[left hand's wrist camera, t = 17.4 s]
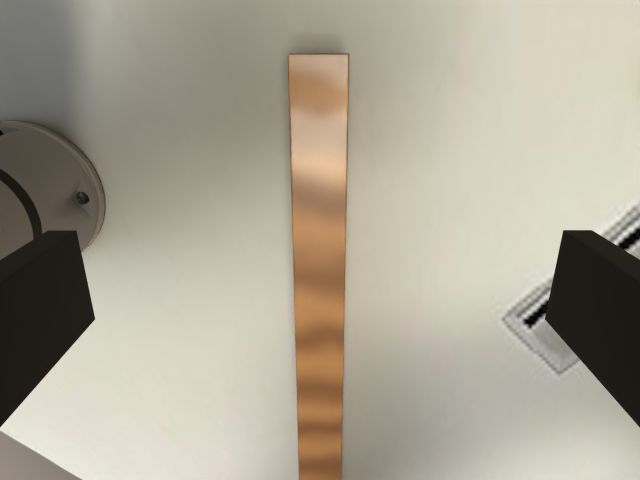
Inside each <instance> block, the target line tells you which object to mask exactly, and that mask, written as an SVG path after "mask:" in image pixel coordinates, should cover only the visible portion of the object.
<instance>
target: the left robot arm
mask: <svg viewBox="0 0 640 480" xmlns="http://www.w3.org/2000/svg"><path fill="white" fill-rule="evenodd" d="M104 213H105V200H104V194H103V189H102V186H101V183H100V180H99V178H98V176H97V174H96V172H95V170H94V168H93V166H92V165H91V163H90V162H89V161H88V159H87V158H86V157H85V156H84V154H83V153H82V152H81V151H80V150H79V149H78V148H77V147H76V146H75V145H74V144H72V143H71V142H70V141H69V140H67V139H66V138H64V137H63V136H62V135H60V134H58V133H56V132H55V131H53V130H50V129H48V128H46V127H43V126H41V125H37V124H34V123H29V122H22V121H6V122H0V427H1V426H2V425H3V423H4V422H5V421H6V420H7V419H8V418H9V417H10V415H11V414H12V413H13V412H14V411H15V410H16V409H17V408H18V406H19V405H20V404H21V403H22V402H23V401H24V400H25V398H26V397H27V396H28V395H29V394H30V393H31V392H32V390H33V389H34V388H35V387H36V386H37V385H38V384H39V382H40V381H41V380H42V379H43V378H44V377H45V376H46V374H47V373H48V372H49V371H50V370H51V369H52V368H53V366H54V365H55V364H56V363H57V362H58V361H59V360H60V359H61V357H62V356H63V355H64V354H65V353H66V352H67V351H68V349H69V348H70V347H71V346H72V345H73V344H74V343H75V341H76V340H77V339H78V338H79V337H80V336H81V335H82V333H83V332H84V331H85V330H86V329H87V328H88V327H89V325H90V324H91V323H92V322H93V321H94V320H95V316H94V312H93V307H92V302H91V297H90V292H89V288H88V283H87V278H86V273H85V268H84V264H83V259H82V254H81V252H82V251H83V250H84V249H86V248H87V247H88V246H89V245H90V244H91V243H92V242H93V241H94V239H95V238H96V236H97V235H98V233H99V231H100V229H101V226H102V223H103V219H104ZM545 320H546V321H547V322H548V323H549V324H550V325H551V327H552V328H553V329H554V330H555V331H556V332H557V333H558V335H559V336H560V337H561V338H562V339H563V340H564V341H565V343H566V344H567V345H568V346H569V347H570V348H571V349H572V351H573V352H574V353H575V354H576V355H577V356H578V357H579V359H580V360H581V361H582V362H583V363H584V364H585V365H586V366H587V368H588V369H589V370H590V371H591V372H592V373H593V374H594V376H595V377H596V378H597V379H598V380H599V381H600V382H601V384H602V385H603V386H604V387H605V388H606V389H607V390H608V392H609V393H610V394H611V395H612V396H613V397H614V398H615V400H616V401H617V402H618V403H619V404H620V405H621V406H622V408H623V409H624V410H625V411H626V412H627V413H628V414H629V415H630V417H631V418H632V419H633V420H634V421H635V422H636V423H637V425H638V426H639V427H640V260H639V259H637V258H636V257H634V256H633V255H631V254H629V253H628V252H626V251H624V250H623V249H621V248H620V247H618V246H616V245H615V244H613V243H611V242H610V241H608V240H607V239H605V238H603V237H602V236H600V235H599V234H597V233H595V232H594V231H592V230H563V235H562V240H561V244H560V249H559V254H558V259H557V264H556V268H555V273H554V278H553V283H552V288H551V292H550V297H549V302H548V307H547V312H546V316H545Z"/></svg>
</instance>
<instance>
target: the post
mask: <svg viewBox="0 0 640 480" xmlns="http://www.w3.org/2000/svg"><path fill="white" fill-rule="evenodd" d="M288 74H289V112H290V150H291V188H292V226H293V264H294V302H295V340H296V378H297V416H298V454H299V480H341V458H342V406H343V353H344V301H345V249H346V196H347V144H348V91H349V54H288Z"/></svg>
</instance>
